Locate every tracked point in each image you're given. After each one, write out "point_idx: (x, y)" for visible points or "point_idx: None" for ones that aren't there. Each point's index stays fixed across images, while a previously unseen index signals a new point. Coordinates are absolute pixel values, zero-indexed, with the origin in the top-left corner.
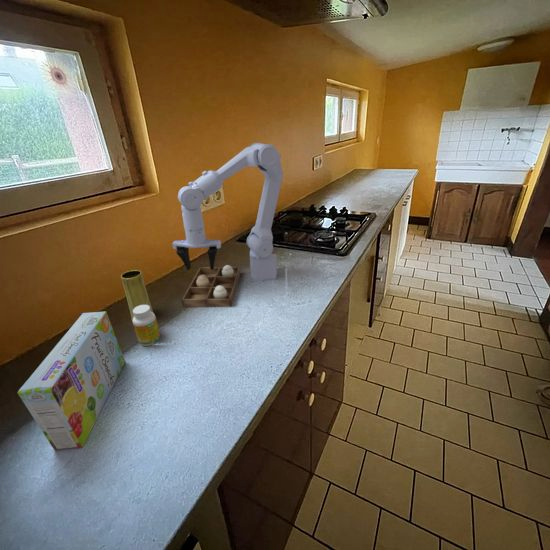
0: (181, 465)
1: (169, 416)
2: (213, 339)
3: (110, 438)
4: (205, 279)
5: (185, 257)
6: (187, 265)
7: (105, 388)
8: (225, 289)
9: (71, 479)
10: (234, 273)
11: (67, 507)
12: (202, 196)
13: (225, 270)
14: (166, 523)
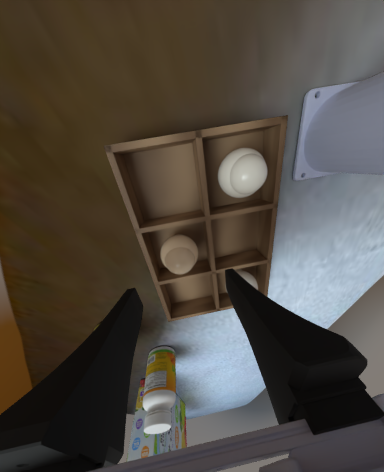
0: (245, 393)
1: (227, 384)
2: (240, 335)
3: (197, 398)
4: (193, 265)
5: (127, 387)
6: (138, 331)
7: (174, 405)
8: (257, 288)
9: (192, 408)
10: (247, 132)
11: (199, 411)
12: None
13: (243, 194)
14: (245, 402)
